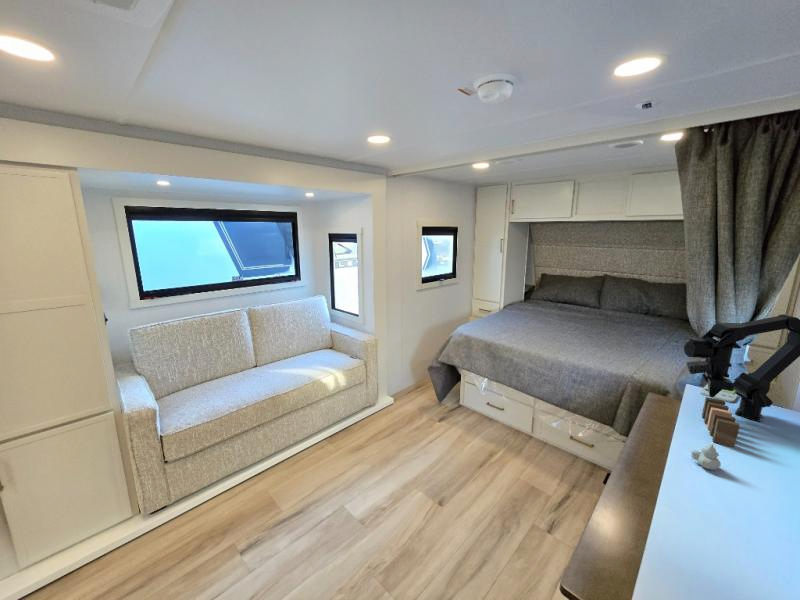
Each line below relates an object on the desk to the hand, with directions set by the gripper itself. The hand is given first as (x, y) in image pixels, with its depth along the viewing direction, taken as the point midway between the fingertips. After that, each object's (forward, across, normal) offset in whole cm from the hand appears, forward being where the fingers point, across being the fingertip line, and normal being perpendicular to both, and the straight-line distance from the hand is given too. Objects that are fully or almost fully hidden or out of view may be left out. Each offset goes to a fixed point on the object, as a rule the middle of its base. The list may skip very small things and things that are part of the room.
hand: (711, 396), depth 123 cm
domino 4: (+7, +18, 0) cm, 19 cm away
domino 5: (+7, +22, 0) cm, 23 cm away
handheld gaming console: (+7, -22, +8) cm, 24 cm away
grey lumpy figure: (+7, +38, -8) cm, 39 cm away
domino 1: (+7, +6, 0) cm, 9 cm away
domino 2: (+7, +10, 0) cm, 12 cm away
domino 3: (+7, +14, 0) cm, 15 cm away
